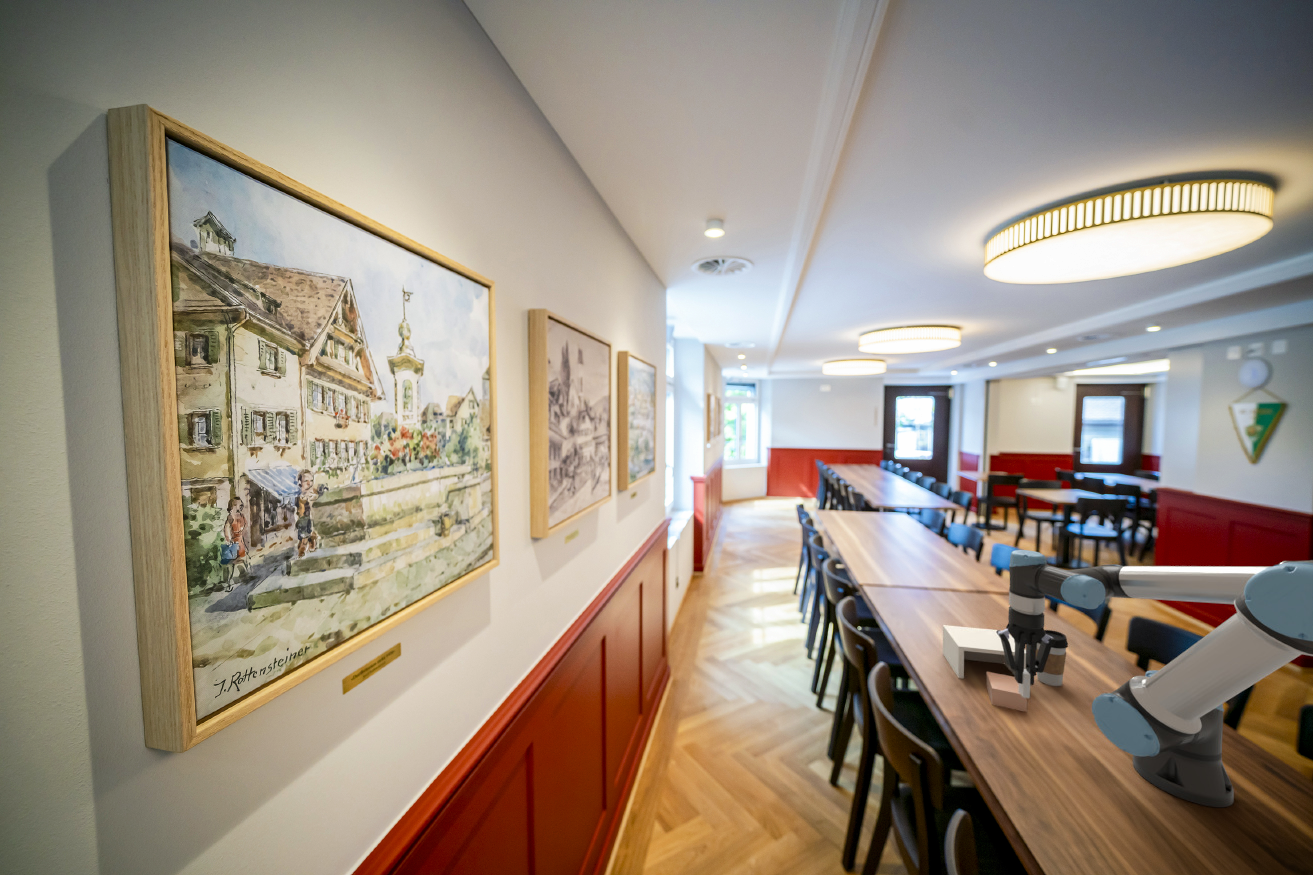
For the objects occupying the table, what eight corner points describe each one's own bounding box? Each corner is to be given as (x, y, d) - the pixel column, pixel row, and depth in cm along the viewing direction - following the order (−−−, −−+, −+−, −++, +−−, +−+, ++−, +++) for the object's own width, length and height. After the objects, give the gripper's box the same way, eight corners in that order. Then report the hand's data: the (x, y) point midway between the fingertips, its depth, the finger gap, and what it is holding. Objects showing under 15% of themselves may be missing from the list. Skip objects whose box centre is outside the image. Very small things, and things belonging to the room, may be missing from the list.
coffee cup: (1074, 689, 141) (1074, 640, 140) (1042, 686, 143) (1042, 638, 142) (1056, 674, 149) (1057, 628, 149) (1026, 672, 151) (1026, 626, 150)
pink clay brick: (1026, 712, 131) (1026, 695, 131) (992, 705, 135) (992, 688, 134) (1018, 693, 140) (1019, 677, 139) (986, 687, 143) (986, 671, 143)
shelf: (1028, 686, 143) (1029, 653, 143) (958, 677, 148) (958, 646, 148) (1005, 660, 158) (1006, 630, 158) (942, 653, 164) (942, 624, 163)
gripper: (1047, 605, 126) (1045, 690, 128) (992, 601, 130) (990, 683, 131) (1063, 617, 119) (1060, 707, 120) (1003, 612, 123) (1001, 699, 124)
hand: (1024, 694), depth 126 cm, fingers closed
